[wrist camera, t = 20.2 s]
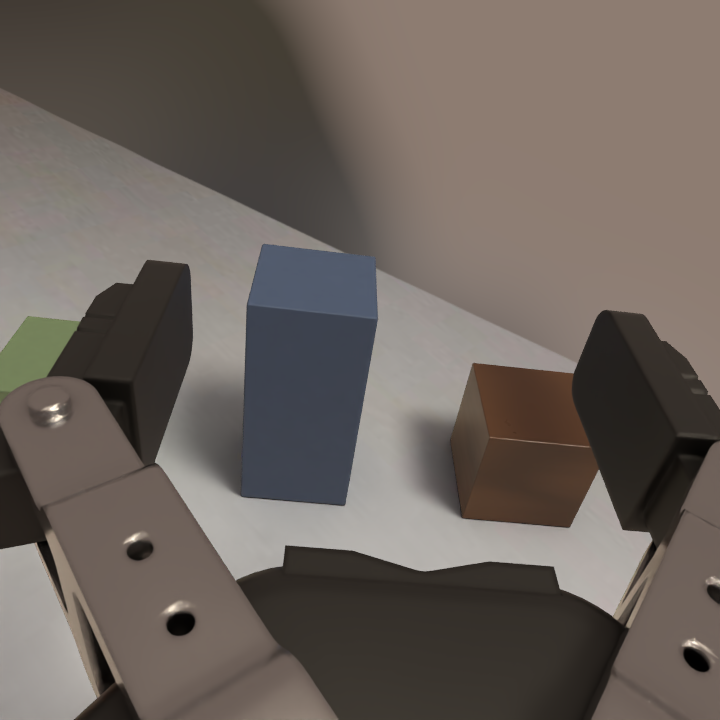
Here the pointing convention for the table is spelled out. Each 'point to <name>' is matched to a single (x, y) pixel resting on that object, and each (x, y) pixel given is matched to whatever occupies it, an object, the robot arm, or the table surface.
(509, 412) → the block
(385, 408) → the table surface
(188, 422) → the table surface
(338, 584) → the robot arm
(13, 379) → the block
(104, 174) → the table surface
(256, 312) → the tall block
